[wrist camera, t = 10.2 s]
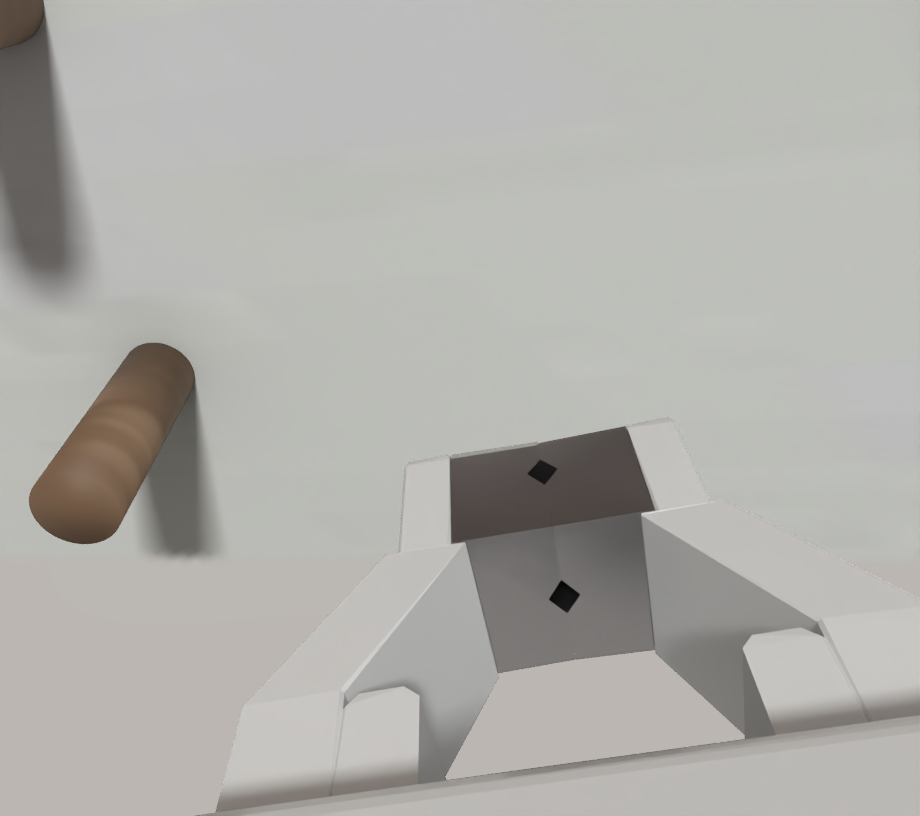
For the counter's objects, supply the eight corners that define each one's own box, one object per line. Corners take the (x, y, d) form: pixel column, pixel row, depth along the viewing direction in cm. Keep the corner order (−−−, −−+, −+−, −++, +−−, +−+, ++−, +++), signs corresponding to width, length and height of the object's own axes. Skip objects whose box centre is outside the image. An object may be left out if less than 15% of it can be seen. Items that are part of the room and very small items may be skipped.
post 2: (179, 337, 30) (99, 465, 23) (204, 397, 31) (135, 536, 24) (112, 349, 30) (13, 480, 23) (139, 409, 31) (52, 550, 24)
